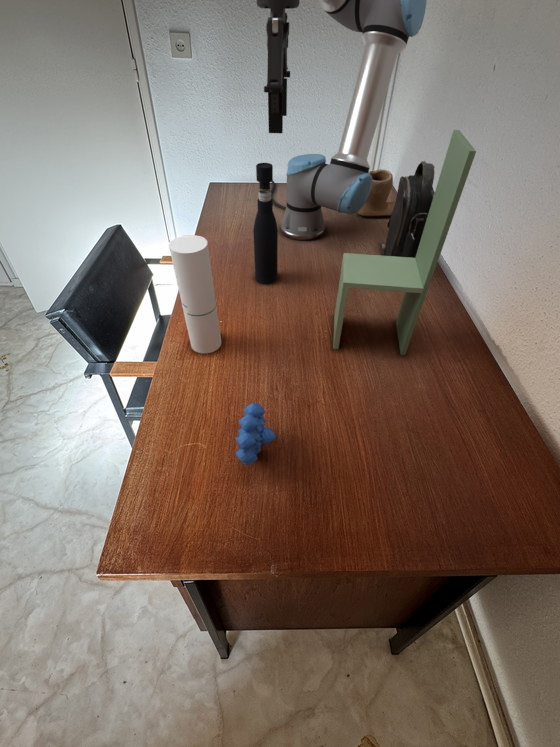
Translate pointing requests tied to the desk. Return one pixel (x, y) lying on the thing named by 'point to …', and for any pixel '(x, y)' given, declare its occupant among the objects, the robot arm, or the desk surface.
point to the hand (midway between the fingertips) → (278, 123)
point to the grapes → (252, 434)
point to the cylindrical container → (196, 291)
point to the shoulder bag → (410, 212)
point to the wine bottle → (265, 229)
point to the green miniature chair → (418, 270)
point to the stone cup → (379, 195)
